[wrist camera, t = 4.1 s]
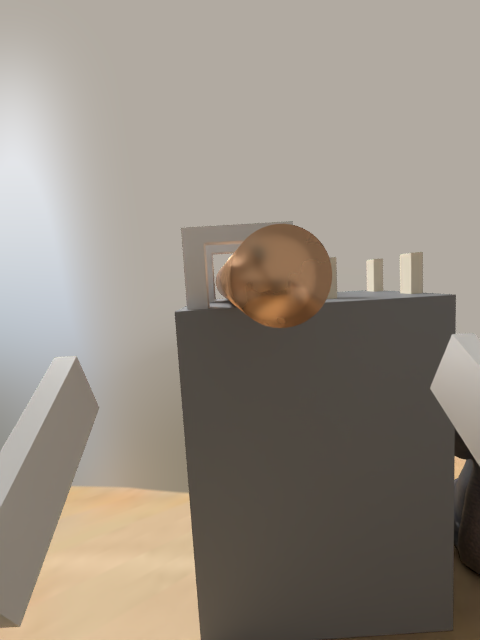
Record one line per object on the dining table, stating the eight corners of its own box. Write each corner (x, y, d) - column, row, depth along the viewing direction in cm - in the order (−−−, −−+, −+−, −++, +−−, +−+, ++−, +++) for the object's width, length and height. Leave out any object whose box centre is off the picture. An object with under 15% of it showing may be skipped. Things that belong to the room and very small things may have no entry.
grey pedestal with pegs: (201, 647, 29) (167, 226, 25) (213, 517, 45) (193, 248, 41) (452, 630, 29) (456, 209, 25) (375, 506, 45) (370, 237, 41)
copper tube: (297, 346, 14) (351, 259, 14) (210, 294, 13) (265, 203, 13) (239, 305, 39) (257, 275, 39) (209, 287, 39) (227, 256, 39)
